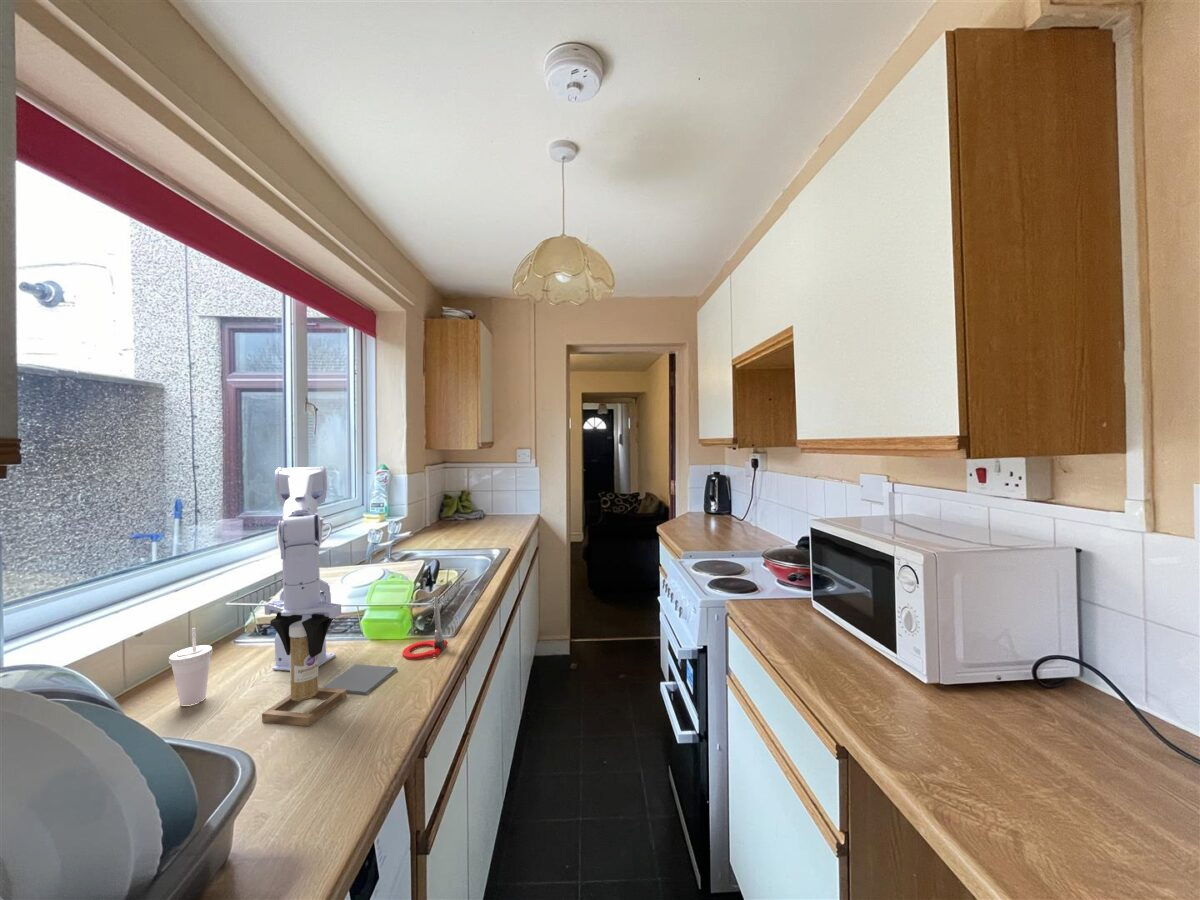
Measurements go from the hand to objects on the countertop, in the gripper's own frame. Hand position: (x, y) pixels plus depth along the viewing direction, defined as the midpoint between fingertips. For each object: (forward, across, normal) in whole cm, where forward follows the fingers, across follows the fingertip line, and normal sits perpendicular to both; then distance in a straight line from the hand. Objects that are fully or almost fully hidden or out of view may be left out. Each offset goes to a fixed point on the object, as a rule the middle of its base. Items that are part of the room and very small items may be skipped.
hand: (304, 653), depth 87 cm
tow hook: (+11, +9, +25) cm, 29 cm away
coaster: (+10, +3, +11) cm, 15 cm away
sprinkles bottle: (+8, 0, 0) cm, 8 cm away
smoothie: (+11, -24, -1) cm, 26 cm away
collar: (+10, 0, 0) cm, 10 cm away
